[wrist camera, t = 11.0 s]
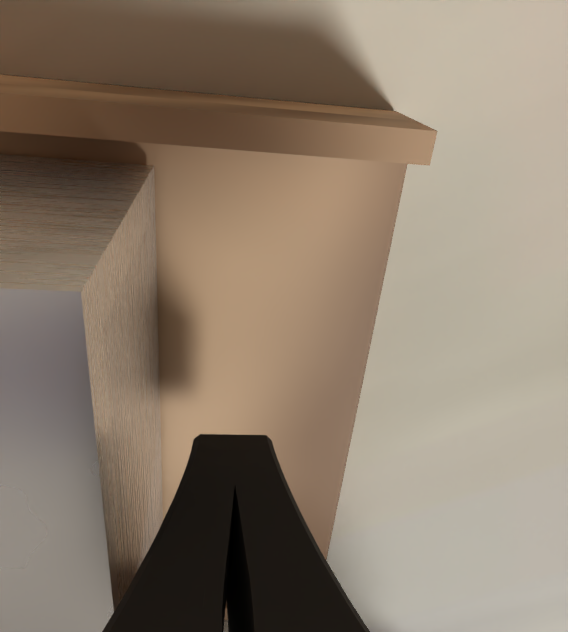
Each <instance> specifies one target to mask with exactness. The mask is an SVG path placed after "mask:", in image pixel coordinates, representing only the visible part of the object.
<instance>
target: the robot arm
mask: <svg viewBox="0 0 568 632" xmlns="http://www.w3.org/2000/svg"><path fill="white" fill-rule="evenodd" d="M226 600H227V615H228V629H229V632H370V631H369V630H368V628H367V627H366V625H365V624H364V622H363V621H362V619H361V618H360V616H359V614H358V613H357V611H356V610H355V608H354V607H353V605H352V603H351V602H350V600H349V599H348V597H347V595H346V594H345V592H344V590H343V589H342V587H341V585H340V583H339V582H338V580H337V578H336V577H335V575H334V573H333V572H332V570H331V568H330V567H329V565H328V563H327V561H326V559H325V558H324V556H323V554H322V552H321V550H320V549H319V547H318V545H317V543H316V541H315V539H314V537H313V535H312V533H311V531H310V529H309V527H308V526H307V524H306V522H305V520H304V518H303V516H302V514H301V512H300V510H299V508H298V506H297V503H296V501H295V499H294V497H293V495H292V493H291V490H290V488H289V486H288V484H287V481H286V479H285V477H284V474H283V472H282V469H281V467H280V464H279V461H278V459H277V456H276V453H275V450H274V447H273V443H272V440H271V439H270V438H269V437H268V436H267V435H230V434H200V435H198V436H197V437H196V438H194V440H193V445H192V449H191V453H190V456H189V460H188V463H187V466H186V469H185V471H184V474H183V477H182V479H181V482H180V484H179V487H178V489H177V491H176V494H175V496H174V499H173V501H172V503H171V505H170V507H169V509H168V512H167V514H166V516H165V518H164V520H163V522H162V524H161V526H160V529H159V531H158V533H157V535H156V537H155V539H154V541H153V543H152V545H151V547H150V549H149V550H148V552H147V554H146V556H145V558H144V560H143V561H142V563H141V565H140V567H139V569H138V571H137V572H136V574H135V576H134V578H133V580H132V582H131V583H130V585H129V587H128V589H127V591H126V592H125V594H124V596H123V598H122V599H121V601H120V603H119V604H118V606H117V608H116V609H115V611H114V613H113V615H112V616H111V618H110V620H109V621H108V623H107V624H106V626H105V628H104V629H103V631H102V632H223V628H224V618H225V608H226Z"/></svg>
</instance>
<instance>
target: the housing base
mask: <svg viewBox="0 0 568 632" xmlns="http://www.w3.org/2000/svg"><path fill="white" fill-rule="evenodd" d="M436 135H437V131H436V130H434V129H432V128H430V127H428V126H426V125H423V124H421V123H419V122H417V121H415V120H413V119H411V118H409V117H407V116H405V115H403V114H401V113H399V112H396V111H388V110H378V109H367V108H356V107H345V106H334V105H324V104H313V103H302V102H291V101H280V100H269V99H259V98H248V97H237V96H226V95H215V94H205V93H194V92H183V91H172V90H161V89H151V88H140V87H129V86H118V85H107V84H97V83H86V82H75V81H64V80H53V79H42V78H32V77H21V76H10V75H0V154H4V155H17V156H31V157H44V158H57V159H71V160H84V161H98V162H111V163H125V164H138V165H151V166H154V187H155V227H156V267H157V307H158V347H159V387H160V427H161V467H162V508H163V520H164V518H165V516H166V514H167V512H168V509H169V507H170V505H171V503H172V501H173V499H174V496H175V494H176V491H177V489H178V487H179V484H180V482H181V479H182V477H183V474H184V471H185V469H186V466H187V463H188V460H189V456H190V453H191V449H192V445H193V440H194V438H196V437H197V436H198V435H200V434H230V435H267V436H268V437H269V438H270V439H271V440H272V443H273V447H274V450H275V453H276V456H277V459H278V461H279V464H280V467H281V469H282V472H283V474H284V477H285V479H286V481H287V484H288V486H289V488H290V490H291V493H292V495H293V497H294V499H295V501H296V503H297V506H298V508H299V510H300V512H301V514H302V516H303V518H304V520H305V522H306V524H307V526H308V527H309V529H310V531H311V533H312V535H313V537H314V539H315V541H316V543H317V545H318V547H319V549H320V550H321V552H322V554H323V556H324V558H325V559H327V554H328V549H329V544H330V539H331V534H332V530H333V525H334V520H335V515H336V510H337V505H338V500H339V495H340V490H341V486H342V481H343V476H344V471H345V466H346V461H347V456H348V451H349V446H350V442H351V437H352V432H353V427H354V422H355V417H356V412H357V407H358V402H359V398H360V393H361V388H362V383H363V378H364V373H365V368H366V363H367V359H368V354H369V349H370V344H371V339H372V334H373V329H374V324H375V319H376V315H377V310H378V305H379V300H380V295H381V290H382V285H383V280H384V275H385V271H386V266H387V261H388V256H389V251H390V246H391V241H392V236H393V231H394V227H395V222H396V217H397V212H398V207H399V202H400V197H401V192H402V188H403V183H404V178H405V173H406V168H407V164H418V165H430V161H431V157H432V152H433V148H434V143H435V139H436ZM224 620H228V615H227V600H226V608H225V618H224Z"/></svg>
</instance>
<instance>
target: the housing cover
mask: <svg viewBox="0 0 568 632" xmlns="http://www.w3.org/2000/svg"><path fill="white" fill-rule="evenodd" d="M162 522H163V508H162V467H161V427H160V387H159V347H158V307H157V267H156V227H155V187H154V166H151V165H138V164H125V163H111V162H98V161H84V160H71V159H57V158H44V157H31V156H17V155H4V154H0V632H102V631H103V629H104V628H105V626H106V624H107V623H108V621H109V620H110V618H111V616H112V615H113V613H114V611H115V609H116V608H117V606H118V604H119V603H120V601H121V599H122V598H123V596H124V594H125V592H126V591H127V589H128V587H129V585H130V583H131V582H132V580H133V578H134V576H135V574H136V572H137V571H138V569H139V567H140V565H141V563H142V561H143V560H144V558H145V556H146V554H147V552H148V550H149V549H150V547H151V545H152V543H153V541H154V539H155V537H156V535H157V533H158V531H159V529H160V526H161V524H162Z"/></svg>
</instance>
